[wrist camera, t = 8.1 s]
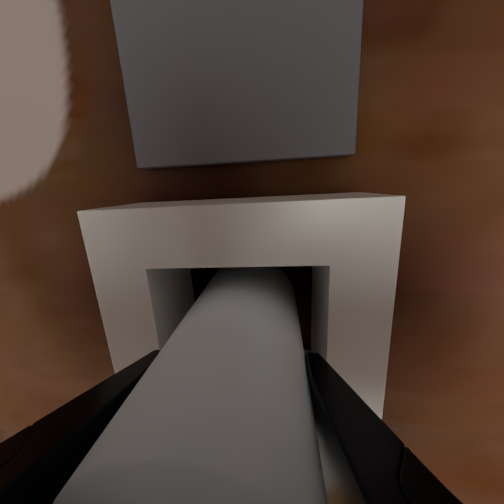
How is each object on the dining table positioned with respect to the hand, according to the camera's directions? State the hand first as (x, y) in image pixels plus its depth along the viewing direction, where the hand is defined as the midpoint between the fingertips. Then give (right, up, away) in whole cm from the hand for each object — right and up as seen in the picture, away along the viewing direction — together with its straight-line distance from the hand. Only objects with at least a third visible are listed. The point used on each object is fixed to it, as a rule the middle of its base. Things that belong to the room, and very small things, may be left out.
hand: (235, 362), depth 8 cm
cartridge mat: (0, +12, +2) cm, 12 cm away
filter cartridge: (+1, +1, +4) cm, 4 cm away
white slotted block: (+1, -3, +6) cm, 6 cm away
